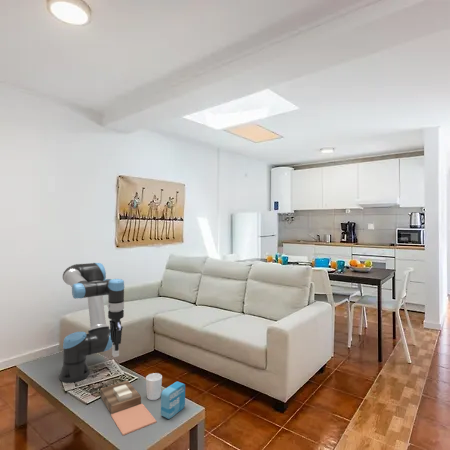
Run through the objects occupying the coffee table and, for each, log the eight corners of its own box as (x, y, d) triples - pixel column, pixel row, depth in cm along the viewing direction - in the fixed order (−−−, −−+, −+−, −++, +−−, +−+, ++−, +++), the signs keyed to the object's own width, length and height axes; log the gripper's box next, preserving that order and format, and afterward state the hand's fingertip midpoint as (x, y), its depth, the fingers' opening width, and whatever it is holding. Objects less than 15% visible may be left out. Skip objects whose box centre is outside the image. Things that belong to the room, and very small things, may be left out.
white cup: (153, 402, 157) (154, 382, 156) (142, 397, 161) (142, 377, 161) (164, 395, 163) (165, 375, 163) (153, 390, 168) (154, 371, 167)
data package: (167, 420, 144) (168, 394, 143) (160, 417, 146) (160, 391, 146) (185, 407, 154) (185, 382, 153) (177, 404, 156) (178, 380, 156)
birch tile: (113, 392, 157) (113, 387, 157) (125, 389, 161) (125, 384, 161) (119, 401, 150) (119, 396, 150) (131, 397, 154) (131, 392, 154)
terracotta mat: (110, 415, 146) (110, 414, 146) (142, 404, 155) (142, 403, 155) (123, 435, 133) (123, 434, 133) (156, 422, 142) (156, 421, 142)
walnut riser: (100, 396, 161) (100, 388, 161) (127, 387, 169) (127, 380, 169) (111, 414, 147) (111, 406, 146) (140, 404, 155) (141, 396, 155)
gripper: (104, 307, 166) (103, 352, 167) (113, 314, 155) (112, 362, 156) (118, 305, 171) (118, 349, 172) (128, 312, 160) (127, 358, 160)
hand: (115, 355), depth 164 cm, fingers closed
